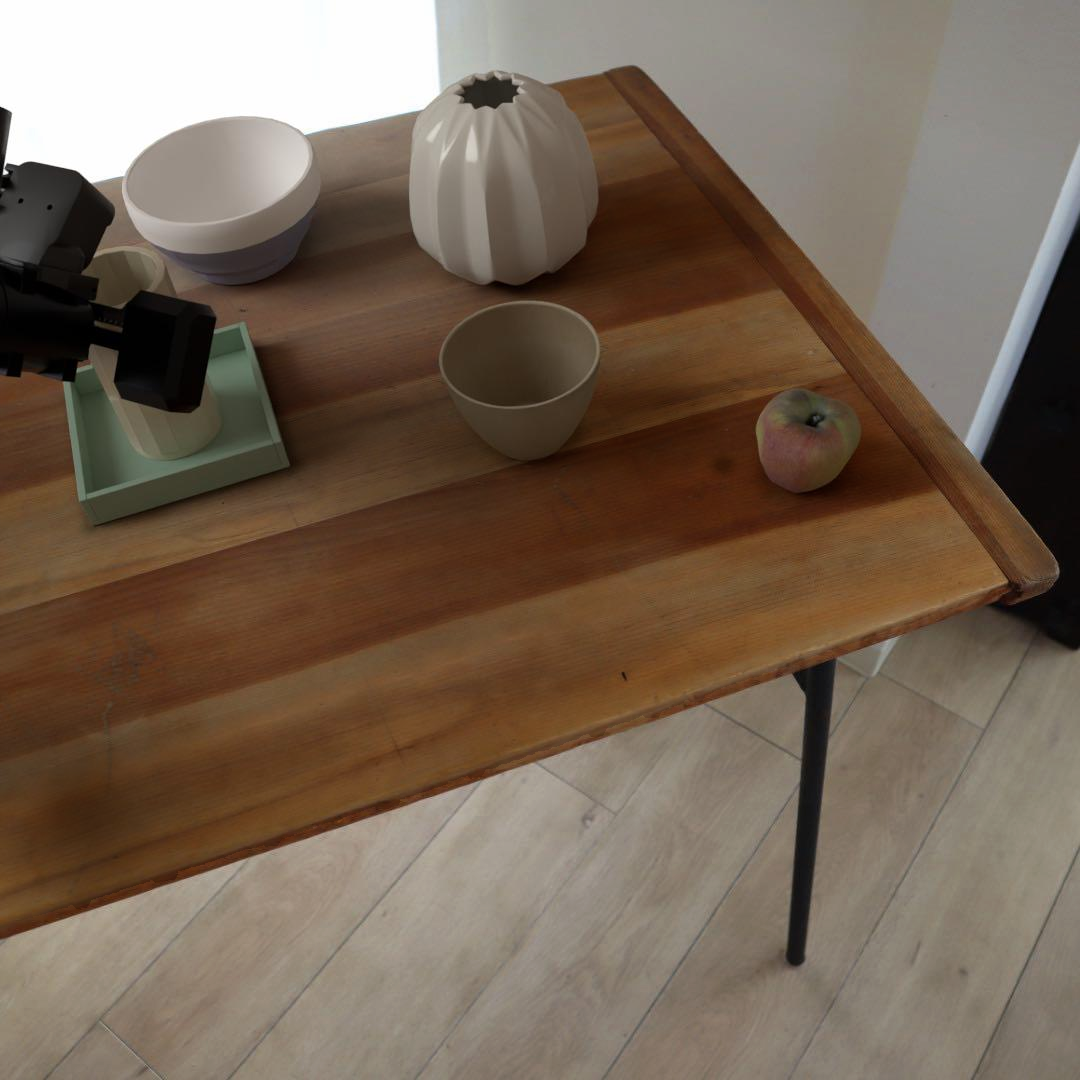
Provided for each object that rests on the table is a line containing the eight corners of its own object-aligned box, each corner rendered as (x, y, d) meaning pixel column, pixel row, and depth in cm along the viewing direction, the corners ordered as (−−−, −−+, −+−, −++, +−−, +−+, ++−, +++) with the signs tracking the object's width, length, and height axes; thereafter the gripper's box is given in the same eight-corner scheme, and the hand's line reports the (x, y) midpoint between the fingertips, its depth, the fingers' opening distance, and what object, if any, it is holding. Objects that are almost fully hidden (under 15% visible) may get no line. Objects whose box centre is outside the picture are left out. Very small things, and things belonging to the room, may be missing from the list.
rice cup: (173, 474, 77) (106, 326, 68) (109, 438, 80) (35, 290, 70) (242, 415, 80) (186, 266, 71) (177, 382, 83) (115, 234, 73)
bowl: (145, 324, 88) (109, 239, 82) (161, 211, 97) (129, 128, 92) (338, 297, 88) (316, 211, 83) (335, 187, 98) (315, 103, 92)
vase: (433, 199, 95) (407, 41, 85) (604, 198, 94) (599, 37, 84) (405, 310, 87) (371, 148, 77) (593, 311, 85) (584, 146, 75)
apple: (716, 449, 76) (720, 381, 71) (838, 428, 76) (849, 360, 71) (742, 519, 72) (748, 452, 67) (869, 496, 72) (884, 428, 68)
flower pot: (609, 382, 80) (605, 298, 75) (599, 491, 74) (594, 409, 69) (465, 380, 82) (451, 298, 76) (443, 487, 75) (426, 406, 70)
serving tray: (92, 526, 75) (78, 501, 74) (74, 397, 83) (61, 372, 82) (290, 466, 77) (281, 441, 76) (253, 346, 86) (244, 320, 84)
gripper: (137, 185, 57) (304, 241, 72) (-146, 126, 63) (62, 189, 78) (98, 410, 59) (269, 419, 73) (-175, 332, 64) (35, 356, 79)
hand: (156, 339), depth 76 cm, fingers closed on rice cup, 6 cm apart
